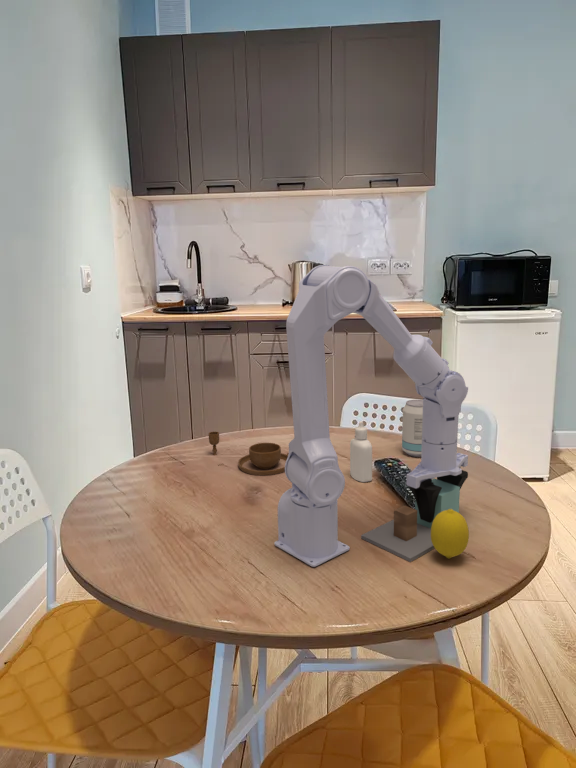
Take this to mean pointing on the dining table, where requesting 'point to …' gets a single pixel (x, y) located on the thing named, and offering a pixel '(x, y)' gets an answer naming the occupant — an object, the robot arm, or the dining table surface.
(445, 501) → the upright teal cuboid
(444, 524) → the lemon
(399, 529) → the wooden toy block
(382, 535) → the base
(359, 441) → the eye dropper bottle
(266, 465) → the place setting
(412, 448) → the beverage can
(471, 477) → the dining table surface
